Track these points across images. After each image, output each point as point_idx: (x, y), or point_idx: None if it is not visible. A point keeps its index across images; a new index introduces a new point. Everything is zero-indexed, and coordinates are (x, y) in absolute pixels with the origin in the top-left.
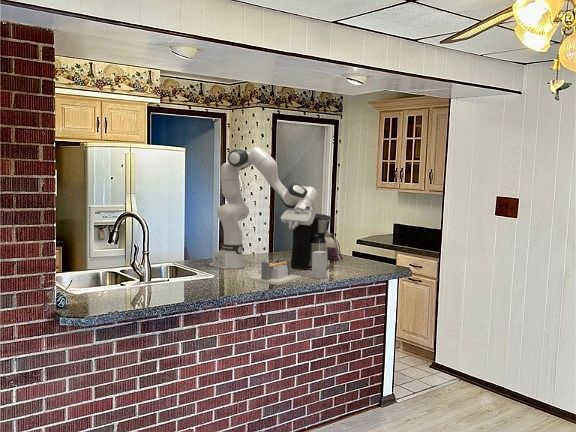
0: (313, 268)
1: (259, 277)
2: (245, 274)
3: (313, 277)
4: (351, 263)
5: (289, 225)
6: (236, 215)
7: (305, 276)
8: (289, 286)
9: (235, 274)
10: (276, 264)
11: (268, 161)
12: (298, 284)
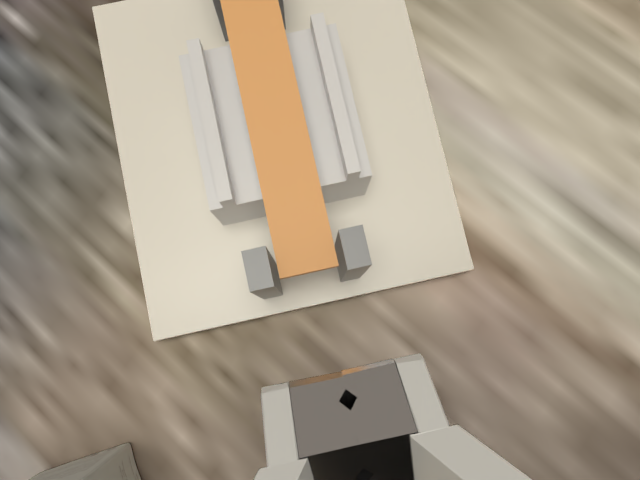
0: (83, 469)
1: (329, 6)
2: (582, 68)
3: (109, 449)
4: None
5: (436, 396)
6: None
7: (221, 449)
8: (16, 61)
9: (625, 2)
10: (242, 76)
11: None
12: (22, 165)
